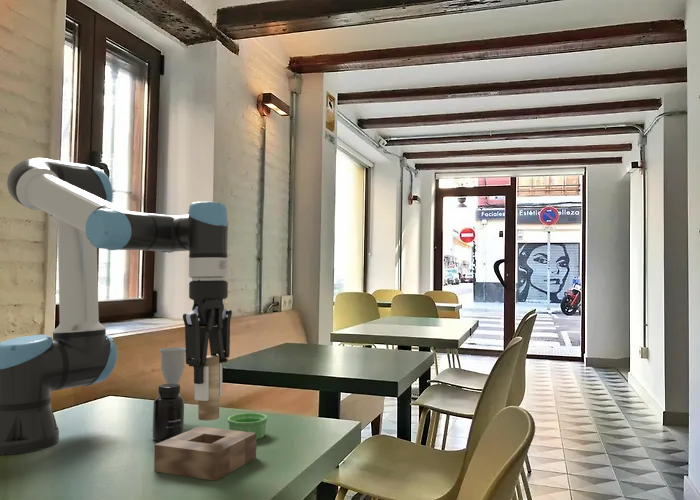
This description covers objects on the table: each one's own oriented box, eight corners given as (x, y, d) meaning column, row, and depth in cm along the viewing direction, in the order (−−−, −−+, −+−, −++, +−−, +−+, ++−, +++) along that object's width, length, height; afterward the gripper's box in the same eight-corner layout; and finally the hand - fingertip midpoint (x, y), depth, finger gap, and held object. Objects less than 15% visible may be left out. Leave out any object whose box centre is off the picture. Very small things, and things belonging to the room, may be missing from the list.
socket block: (154, 471, 110) (154, 444, 111) (198, 450, 124) (199, 426, 124) (216, 480, 105) (216, 452, 106) (256, 457, 118) (256, 432, 119)
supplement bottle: (174, 443, 129) (175, 388, 129) (146, 441, 130) (147, 387, 130) (189, 434, 135) (189, 383, 136) (162, 433, 137) (162, 381, 137)
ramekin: (220, 440, 131) (220, 420, 131) (239, 429, 140) (239, 411, 140) (256, 443, 129) (256, 423, 129) (273, 432, 137) (273, 414, 137)
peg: (194, 419, 113) (194, 357, 114) (206, 414, 117) (206, 355, 118) (211, 421, 112) (211, 358, 113) (223, 416, 116) (223, 355, 116)
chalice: (158, 417, 152) (159, 347, 152) (185, 415, 154) (186, 346, 154) (158, 424, 145) (159, 351, 145) (186, 421, 147) (187, 350, 147)
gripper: (198, 279, 107) (198, 408, 105) (247, 278, 122) (247, 390, 121) (165, 280, 109) (164, 405, 108) (217, 279, 125) (217, 388, 124)
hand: (208, 397), depth 115 cm, fingers closed on peg, 4 cm apart
